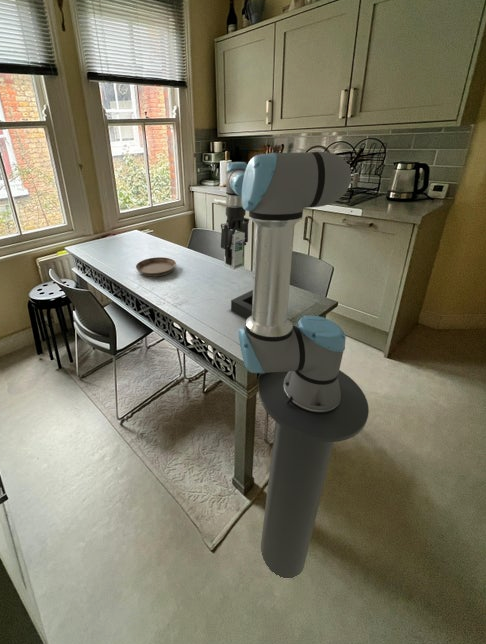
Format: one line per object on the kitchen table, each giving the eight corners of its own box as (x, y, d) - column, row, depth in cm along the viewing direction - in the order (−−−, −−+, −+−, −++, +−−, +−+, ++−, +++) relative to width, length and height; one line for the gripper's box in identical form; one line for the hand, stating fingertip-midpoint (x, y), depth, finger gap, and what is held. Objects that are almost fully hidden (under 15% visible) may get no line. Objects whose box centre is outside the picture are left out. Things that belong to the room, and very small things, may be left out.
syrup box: (233, 270, 126) (234, 235, 120) (223, 265, 130) (224, 231, 124) (244, 266, 129) (245, 232, 123) (234, 262, 133) (235, 229, 127)
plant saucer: (128, 270, 165) (128, 264, 163) (160, 259, 177) (159, 253, 176) (151, 282, 151) (151, 276, 149) (184, 270, 163) (184, 264, 162)
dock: (257, 325, 116) (258, 314, 114) (230, 311, 126) (231, 300, 124) (279, 312, 124) (280, 301, 122) (253, 299, 133) (253, 289, 131)
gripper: (245, 200, 127) (242, 253, 137) (210, 207, 117) (210, 265, 126) (259, 202, 122) (256, 258, 131) (225, 211, 111) (224, 271, 121)
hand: (234, 261), depth 129 cm, fingers closed on syrup box, 6 cm apart
